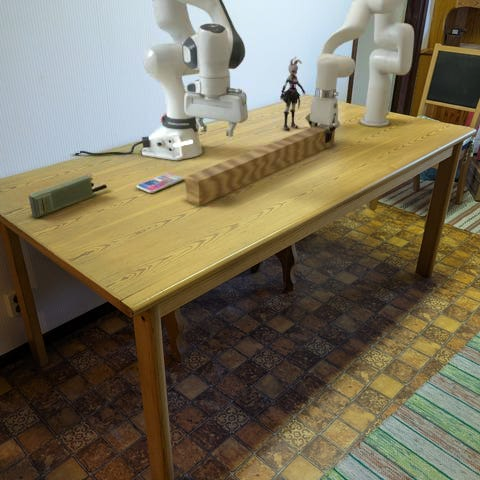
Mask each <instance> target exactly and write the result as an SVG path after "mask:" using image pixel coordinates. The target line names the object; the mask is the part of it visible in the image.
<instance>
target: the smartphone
mask: <svg viewBox="0 0 480 480" xmlns="http://www.w3.org/2000/svg"><path fill="white" fill-rule="evenodd" d="M182 181H184V177H183V176H180V175H179V174H174V173H172V172H166V173H163V174H161V175H159V176H156V177H154V178H151V179H149V180H146V181H143V182H141V183H138V184H137V185H136V188H137V189H139V190H141V191H143V192H145V193H148V194H154V193H156V192H158V191H160V190H161V191H162V190H164V189H166V188H168V187H170V186H172V185H175V184H177V183H180V182H182Z"/></svg>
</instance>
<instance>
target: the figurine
mask: <svg viewBox="0 0 480 480" xmlns="http://www.w3.org/2000/svg"><path fill="white" fill-rule="evenodd" d="M293 61H294V62H293ZM298 63H299V64H301V65H302V64H303V62H302V61H301V60H300V59H298V58H297V56H295V57H294V58H292V59H290V60H289V65H288V68H287V69H288V72H289V75H288V76H287V78H286V79H285V82H284V84H283V86H282V88H281V91H280V92H281V93H280V96H279V99H280V101H281V102H282V101H283V102H284V103H285V110H284V111H283V114H284V124H283V130H285V131H287V132H288V131H290V127H291V128H293V129H298V127H299V126H298V125H297V124H295V113H296V106H298V107H297V109H298V110H299V109H300V106H301V97H300V96H301V93H299V92H298V88H299V89H300V90H301V92H302V95H306V91H305V89H304V88H303V85H301V83H300V82H299V79H298V76H297V74H298V69H299V66H298ZM287 85H289V87H288V88H286V87H287ZM297 86H298V88H297ZM286 89H287V90H286ZM296 104H297V105H296ZM290 108H291V109H290ZM290 113H291V123H290V127H289V126H288V117H289V115H290Z"/></svg>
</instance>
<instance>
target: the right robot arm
mask: <svg viewBox="0 0 480 480" xmlns="http://www.w3.org/2000/svg"><path fill="white" fill-rule="evenodd" d="M405 2H406V0H352V1H351V4H350V7H349V9H348V12H347V14H346V17H345V19H344V21H343V24H342V26H341V27H339V28H338V29H336V30H334V32H333V33H332V34H331V35H330V36H329V37H328V38H326V40H325V41H324V43H323V44H322V47H321V49H320V52H319V54H318V57H317V60H316V61H317V62H316V80H315V90H314V91H315V92H314V95H313V97H312V100H311V104H310V109H309V110H310V111H309V113H308V114H307V115H306V116H305V120H306V121H307V123H308V125H309V127H310V128H312V127H314V126H317V125H320V124H323V125H326V127H327V133H326V137H325V143H328V142H330V141H331V139H332V132H333V131H334V130H335V131H336V130H337V129H338V128H340V127H341V122H340V121H339V118H338V117H339V102H338V96H339V92H338V91H337V86H338V85H337V84H338V79H339V78H344V79H345V78H348V77H350V76H352V74H353V73H354V71H355V69H356V62H355V60H354V59H353V58H352V57H350V56H347V55H341V54H334V53H335V51H336V50H337V49H338V48H339V47H340V46H342V45H343V44H345V43H348V42H351V41H354V40H356V39H358V38H361V37H363V36H364V34H365V33H366V30H367V28H368V25H369V22H370V20H371V18H372V15H374V25H373V26H374V27H373V41H374V44H375V45H377V46H379V47H381V48H376V49H374V50H372V52H371V53H370V56H369V59H368V64H369V65H368V66H369V78H368V85H367V93H366V94H367V95H366V101H365V108H364V115H363V116H362V117H361V118H360V119H359V122H360V124H362V125H364V126H368V127H375V128H376V127H378V128H380V127H386V126H389V124H390V121H389V120H388V119H387V116H389V115H390V112H389V110H388V108H389V102H390V96H391V95H390V94H391V90H392V80H391V76H390V75H396V76H405V75H407V74H409V72H410V70H411V68H412V63H413V55H414V54H413V53H414V43H415V42H414V41H415V31H414V30H415V29H414V27H413V26H412V25H411V24H409V23H406V22H404V23H403V22H398V21H397V16H398V15H397V14H398V13H397V12H398V11H397V10H398V8H400V7H401V6H402V5H403V4H404V3H405ZM389 74H390V75H389ZM333 125H335V126H333Z"/></svg>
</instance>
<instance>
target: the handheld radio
mask: <svg viewBox="0 0 480 480" xmlns="http://www.w3.org/2000/svg"><path fill="white" fill-rule="evenodd" d="M92 176H93V174H91V173H88V174H85V175H83V176H79V177H76V178H74V179H71V180H68V181H65V182H62V183H59V184H57V185H54V186H50V187H47V188H44V189H42V190H39V191H37V192H33V193H30V194H28V200H29V206H30V210H31V216H32V217H34V218H35V219H36V218H39V217H42V216H45V215H47V214H50V213H53V212H56V211H58V210H60V209H63V208H66V207H68V206H72V205H73V204H76V203H80V202H82V201H84V200H87V199H90V198H93V196H95V195H96V194H95V193H97V192H100V191H102V190H106V189H107V188H108V186H107V184H102V185H99V186H96V187H94V186H95V183H94V182H92V181H93V180H94V178H93V177H92ZM93 187H94V188H93Z"/></svg>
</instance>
